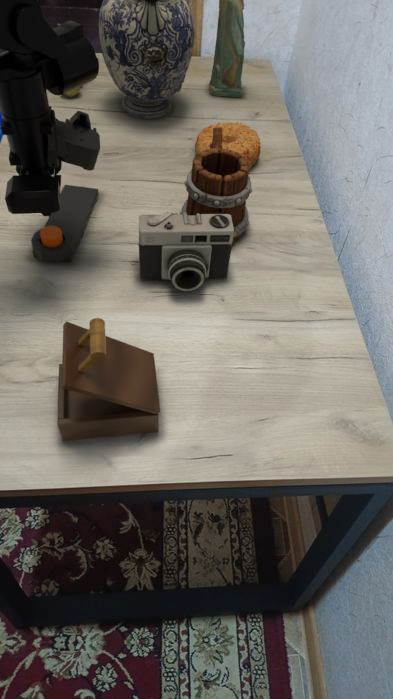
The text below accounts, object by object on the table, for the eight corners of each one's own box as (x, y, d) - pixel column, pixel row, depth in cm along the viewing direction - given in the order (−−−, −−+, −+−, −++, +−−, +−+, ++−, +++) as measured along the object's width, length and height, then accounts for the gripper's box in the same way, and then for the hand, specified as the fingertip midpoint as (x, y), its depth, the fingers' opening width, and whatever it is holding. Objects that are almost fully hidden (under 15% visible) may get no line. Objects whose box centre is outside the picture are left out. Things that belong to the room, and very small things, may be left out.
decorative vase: (196, 132, 103) (208, -32, 80) (106, 133, 100) (93, -36, 78) (182, 83, 115) (190, -69, 93) (102, 83, 112) (90, -74, 90)
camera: (134, 295, 73) (132, 241, 65) (140, 256, 79) (140, 202, 71) (226, 302, 74) (236, 250, 66) (226, 262, 79) (234, 210, 72)
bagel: (266, 148, 101) (270, 124, 97) (247, 183, 93) (252, 159, 89) (206, 133, 103) (209, 109, 99) (184, 166, 95) (185, 142, 91)
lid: (61, 388, 49) (86, 363, 47) (63, 324, 54) (85, 298, 52) (156, 414, 56) (183, 394, 54) (150, 356, 61) (174, 334, 59)
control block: (69, 269, 76) (66, 255, 73) (30, 264, 76) (26, 249, 73) (99, 194, 88) (97, 179, 85) (65, 190, 88) (63, 175, 85)
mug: (180, 249, 80) (184, 157, 70) (177, 208, 90) (180, 123, 80) (251, 250, 81) (265, 160, 71) (240, 209, 91) (251, 125, 81)
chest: (62, 441, 58) (57, 424, 55) (63, 382, 63) (58, 363, 60) (158, 432, 60) (158, 415, 57) (152, 375, 65) (152, 356, 62)
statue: (246, 99, 113) (266, -34, 93) (210, 98, 112) (222, -37, 92) (242, 85, 117) (260, -46, 97) (207, 84, 116) (218, -48, 96)
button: (59, 249, 74) (58, 240, 73) (39, 246, 75) (36, 237, 73) (65, 235, 76) (64, 226, 75) (45, 233, 76) (43, 224, 75)
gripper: (94, 149, 55) (105, 255, 67) (91, 72, 66) (101, 175, 78) (-10, 151, 53) (21, 259, 66) (5, 72, 64) (29, 177, 77)
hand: (47, 214), depth 72 cm, fingers closed
